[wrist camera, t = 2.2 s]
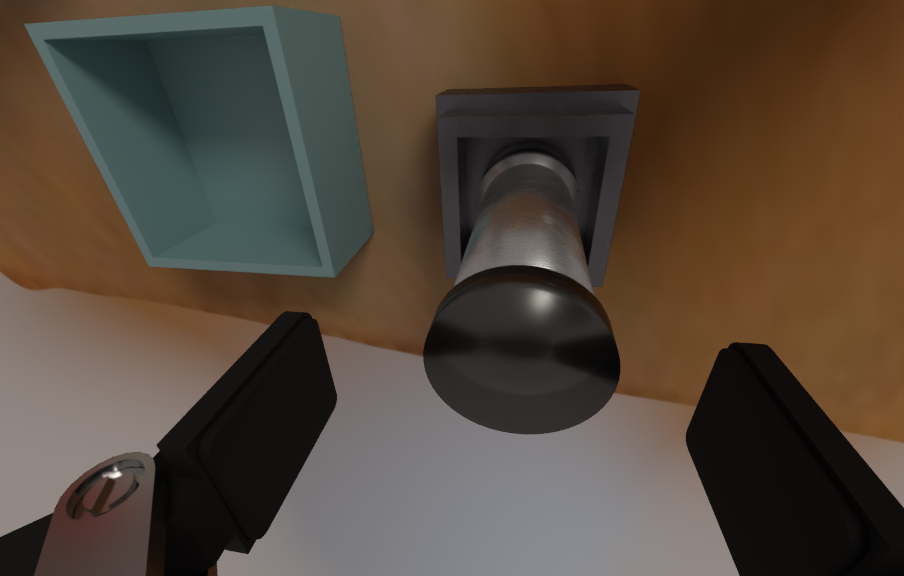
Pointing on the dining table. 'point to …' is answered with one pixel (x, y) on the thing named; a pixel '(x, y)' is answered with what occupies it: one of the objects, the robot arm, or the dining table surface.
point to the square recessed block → (542, 121)
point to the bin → (220, 134)
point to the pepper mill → (524, 306)
